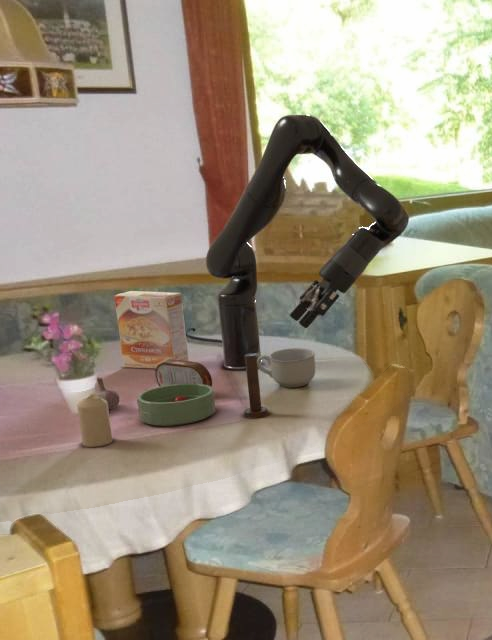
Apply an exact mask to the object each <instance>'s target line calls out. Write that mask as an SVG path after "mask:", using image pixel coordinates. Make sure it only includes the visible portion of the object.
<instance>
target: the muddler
mask: <svg viewBox="0 0 492 640" xmlns="http://www.w3.org/2000/svg"><path fill="white" fill-rule="evenodd" d="M245 362H246V369H245V372H246V381H247V382H246V383H247V391H248V400H249V401H248V402H249V407H247V408H246V409H244V410H243V413H244V417H245V418H248V419H258V418H263V417H266V416H268V415H269V408H268V407H266V406H262V399H261V390H260V389H261V388H260V377H259V368H258V367H257V357H256V354H246V355H245Z"/></svg>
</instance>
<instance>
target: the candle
mask: <svg viewBox="0 0 492 640" xmlns="http://www.w3.org/2000/svg"><path fill="white" fill-rule="evenodd" d="M90 395H91V394H90ZM90 395H88V396H87V397H85V398H82V400H80V401H79V402H78V403H77V404H76V407H77V414H78V422H79V428H80V434H81V441H82V445H83V446H84V447H86V448H87V447H88V448H94V447H95V448H96V447H102V446H106V445H109V444H110V443H112V442H113V433H112V426H111V419H110V412H109V411H110V410H109V411H108V404H107V401H106V400H104V399H102V398H101V397H98V396H97V395H91V396H90Z"/></svg>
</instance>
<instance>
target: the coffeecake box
mask: <svg viewBox="0 0 492 640" xmlns="http://www.w3.org/2000/svg"><path fill="white" fill-rule="evenodd" d="M114 305H115V311H116V319H117V325H118V334H119V342H120V349H121V356H122V364H123V365H122V366H123V368H133V369H135V368H136V369H154V370H156V367H157V366H158V365H159V364H160V363H162V362H165V361H166V360H168V359H176V360H183V361H190V359H189V350H188V341H187V336H186V332H187V331H186V325H185V317H184V316H185V315H184V308H183V299H182V293H181V292H168V291H167V292H166V291H165V292H164V291H141V290H140V291H139V290H135V291H134V290H129V291H126V292H122V293H118V294H115V295H114Z"/></svg>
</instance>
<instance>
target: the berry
mask: <svg viewBox="0 0 492 640" xmlns="http://www.w3.org/2000/svg"><path fill="white" fill-rule="evenodd" d="M184 400H186V399H185V398H184V397H182V396H179V397H177V398H175V399H174V402H177V401H184Z"/></svg>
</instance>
